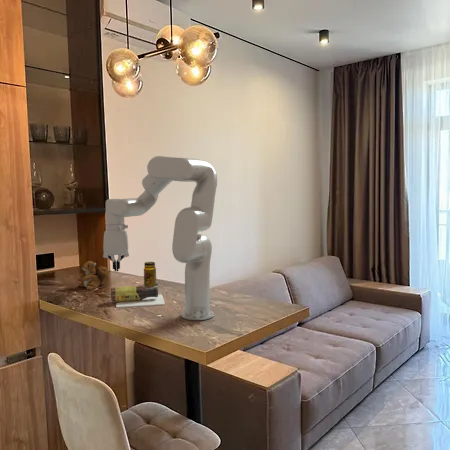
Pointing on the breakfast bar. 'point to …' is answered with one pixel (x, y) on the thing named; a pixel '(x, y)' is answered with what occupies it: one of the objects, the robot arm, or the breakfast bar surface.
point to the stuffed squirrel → (93, 275)
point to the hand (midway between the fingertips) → (116, 270)
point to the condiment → (150, 275)
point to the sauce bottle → (132, 293)
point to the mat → (142, 302)
